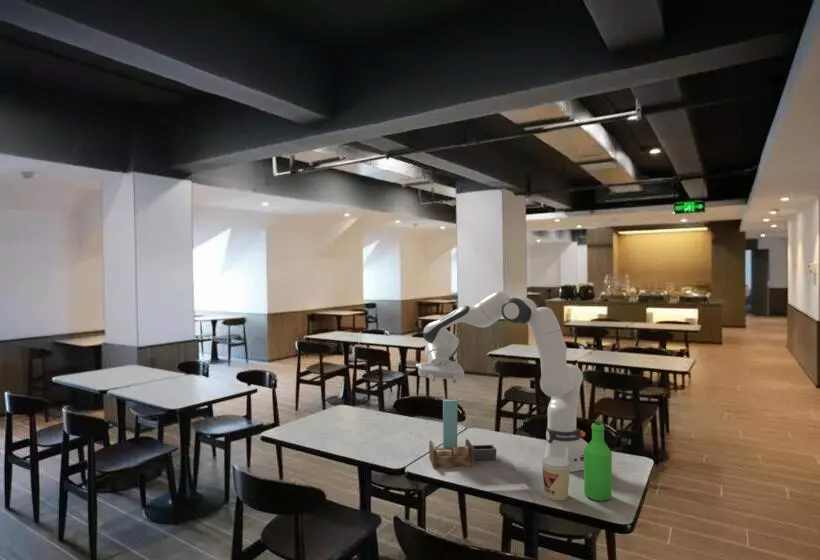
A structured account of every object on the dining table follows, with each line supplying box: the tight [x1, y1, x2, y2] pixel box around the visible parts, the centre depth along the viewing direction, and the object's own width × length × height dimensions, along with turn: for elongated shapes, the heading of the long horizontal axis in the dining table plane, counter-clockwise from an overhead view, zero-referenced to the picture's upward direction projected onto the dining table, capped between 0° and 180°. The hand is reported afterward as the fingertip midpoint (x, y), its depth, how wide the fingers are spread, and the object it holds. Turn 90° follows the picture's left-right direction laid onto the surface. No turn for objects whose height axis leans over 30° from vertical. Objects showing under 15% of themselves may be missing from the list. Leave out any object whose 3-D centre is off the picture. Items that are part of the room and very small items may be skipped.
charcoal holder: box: [471, 444, 497, 463], centre depth 199 cm, size 10×6×6 cm, turn 96°
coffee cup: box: [541, 456, 571, 501], centre depth 169 cm, size 9×9×12 cm
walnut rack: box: [428, 438, 475, 470], centre depth 195 cm, size 16×11×8 cm
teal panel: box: [442, 399, 458, 451], centre depth 197 cm, size 6×2×24 cm, turn 96°
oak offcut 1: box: [436, 449, 452, 456], centre depth 193 cm, size 6×2×6 cm, turn 96°
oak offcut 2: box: [453, 445, 468, 455], centre depth 193 cm, size 6×2×6 cm, turn 96°
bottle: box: [583, 422, 613, 501], centre depth 168 cm, size 9×9×25 cm
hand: (444, 380), depth 209 cm, fingers open, 8 cm apart
